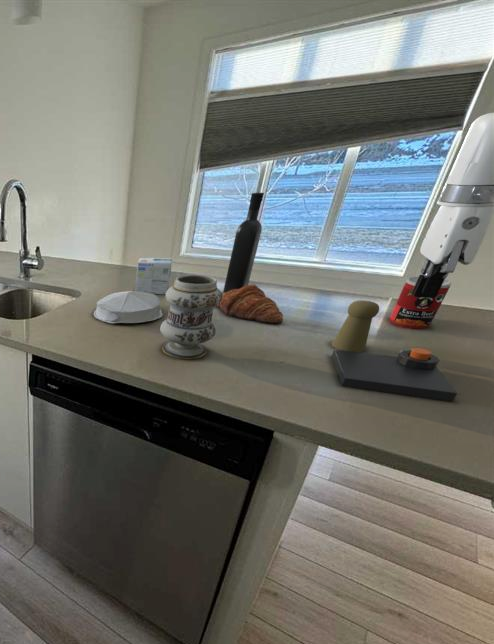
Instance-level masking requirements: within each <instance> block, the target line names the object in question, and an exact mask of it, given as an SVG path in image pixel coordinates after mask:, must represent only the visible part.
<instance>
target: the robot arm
mask: <svg viewBox="0 0 494 644" xmlns="http://www.w3.org/2000/svg"><path fill="white" fill-rule="evenodd" d="M436 205H439V206H440V207H439V209H438V210H437V212H436V213H435V216H434V217H433V220H432V221H431V223H430V226H429V227H428V229H427V232H426V233H425V236H424V238H423V241H422V243H421V246H420V250H419V251H420V254H421V255H422V256H424V258H423V260H424V262H423V264H422V267H421V270H420V274H419V276H418V277H419V278H418V280H417V282H416V284H415V286H414V289H413V291H412V295H413V296H414V297H423V298H435V297H436V296H437V294H438V292H439V290H440V288H441V286H442V284H443V282H444V280H446V279H447V277H448V275H449V274H452V273H454V272H455V270H456V267H457V264H458V263H460V264H462V265H463V266H469V265H470V264H472V263H473V262H474V260H475V259H476V257H477V255H478V252H479V250H480V248H481V245H482V244H483V241H484V239H485V236H486V234H487V233H488V229H489V227H490V224H491V222H492V219H493V215H494V112H489V113H485V114H483V115H481V116H478V117H477V118H476V119H474V121H473V122H472V123H471V125H470V127H469V129H468V131H467V133H466V136H465V138H464V140H463V143H462V145H461V148H460V150H459V152H458V154H457V156H456V159H455V162H454V163H453V166H452V168H451V170H450V173H449V174H448V177H447V179H446V182H445V184H444V186H443V188H442V191H441V192H440V195H439V197H438V200H437V202H436Z"/></svg>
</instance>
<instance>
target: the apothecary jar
mask: <svg viewBox="0 0 494 644" xmlns="http://www.w3.org/2000/svg"><path fill="white" fill-rule="evenodd" d="M217 284H218V281H217V278H215V277H213V276H210V275H204V274H185V275H179V276H177V277H176V278H175V280H174V284H173V285H171V286H170V287H168V290H167V292H166V294H165V300H166V301H167V303H169V308H168V313H167V317H166V318H165V320H164V321H162V323H160V329H159V330H160V334H161V335H162V337H164V338H165V339H166V340H168V342H165V343H164V344H163V346H162V352H163V353H164V354H166V355H167V356H170V357H172V358H175V359H182V360H195V359H199V358H202V357H204V356H205V355H206V354H207V349H206V348H205V347H204V346H203V345H202V344H204V343H207V342H208V341H210V340H212V339H213V338H214V337H215V335H216V326H215V324H214V323H213V322H212V320H213V316H214V315H213V314H214V309H215V307H216V305H218V304H219V303H220V302H221V300H222V293H221V292H222V291H221V290H220V289H219V288H218V285H217Z"/></svg>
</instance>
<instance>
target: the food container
mask: <svg viewBox="0 0 494 644" xmlns="http://www.w3.org/2000/svg"><path fill="white" fill-rule="evenodd" d="M161 302H162V301H161V299H160V297H159V296H158V295H157V294H150V293H145V292H137V291H135V290H127V291H119V292H112V293H111V294H108V295H105V296H104V297H102V298H100V299H99V300H98V301H96V309H95V310H94V311H93V316H94V318H95V319H97V320H99V321H101V322H106V323H107V324H108V323H109V324H120V323H121V324H138V323H145V322H151V321H152V322H153V321H156V320H157V319H160V318H162V317H163V312H162V309H161Z"/></svg>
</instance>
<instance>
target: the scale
mask: <svg viewBox="0 0 494 644" xmlns="http://www.w3.org/2000/svg"><path fill="white" fill-rule="evenodd" d="M411 351H412V349H405V350H401V351H400V352H399V353H398V355H397V356H396V355H389V354H379V353H370V352H352V351H344V350H339V349H336V348H335V349H333V352H332V354H331V360H332V362H333V366H334V368H335V371H336V374H337V376H338V379H339V381H340V384H341V387H347V388H353V389H354V388H355V389H359V390H367V391H375V392H383V393H387V394H388V393H389V394H395V395H404V396H409V397H417V398H422V399H431V400H437V401H443V402H445V401H446V402H450V403H452V402H453V401H454V400H455V398H456V396H457V395H458V392H457V391H456V389H454V387H453V386H452V385H451V383H450V382H449V381H448V380H447V378H446V377H445V375H444V374H443V373H442V372H441V371H440V369H439V368H438V367H437V366H438V364H439V362H440V358H439V357H438V356H436V355H434V354H432V353H431V355H430V357H429V359H428V360H419V359H415V358H412V357H410V356H409V355H410V353H411Z"/></svg>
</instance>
